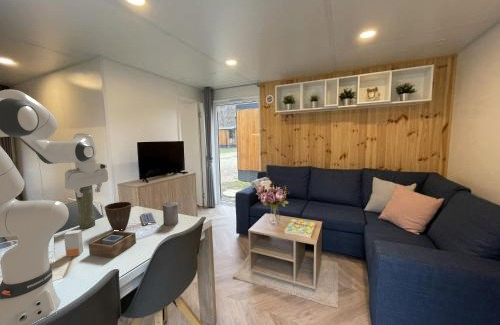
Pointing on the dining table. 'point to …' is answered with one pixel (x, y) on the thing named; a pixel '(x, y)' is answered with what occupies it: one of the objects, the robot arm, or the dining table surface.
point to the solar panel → (147, 218)
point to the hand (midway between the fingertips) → (89, 194)
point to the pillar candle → (170, 213)
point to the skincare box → (73, 243)
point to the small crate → (112, 239)
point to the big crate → (112, 251)
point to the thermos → (86, 208)
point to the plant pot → (118, 214)
